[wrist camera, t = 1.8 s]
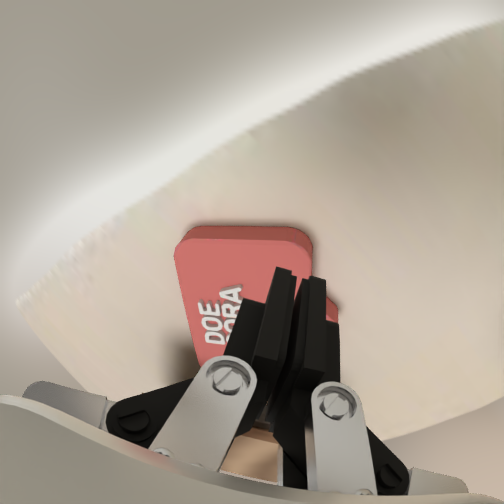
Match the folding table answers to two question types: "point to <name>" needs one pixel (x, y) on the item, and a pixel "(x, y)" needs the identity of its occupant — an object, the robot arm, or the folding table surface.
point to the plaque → (235, 276)
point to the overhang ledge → (254, 452)
